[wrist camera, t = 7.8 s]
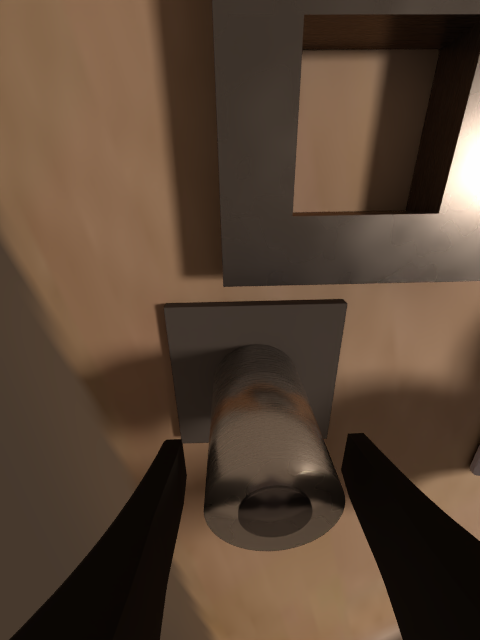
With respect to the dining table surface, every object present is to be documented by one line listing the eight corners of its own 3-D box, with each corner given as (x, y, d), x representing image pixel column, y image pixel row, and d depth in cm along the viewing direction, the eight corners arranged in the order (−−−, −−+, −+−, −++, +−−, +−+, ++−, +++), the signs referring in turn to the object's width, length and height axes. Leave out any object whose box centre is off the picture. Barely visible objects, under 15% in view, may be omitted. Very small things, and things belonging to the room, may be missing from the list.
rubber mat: (342, 299, 14) (347, 303, 14) (323, 431, 18) (326, 438, 18) (166, 303, 14) (163, 307, 14) (183, 435, 18) (181, 443, 17)
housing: (542, -58, 9) (627, -127, 7) (447, 268, 14) (484, 280, 12) (212, -59, 9) (206, -130, 7) (224, 273, 14) (223, 286, 12)
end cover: (301, 343, 15) (359, 463, 8) (293, 412, 17) (335, 553, 10) (212, 344, 15) (200, 466, 8) (214, 413, 16) (205, 558, 10)
